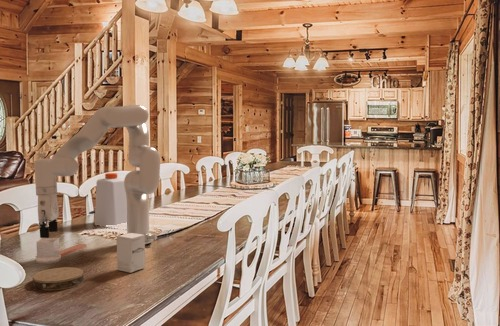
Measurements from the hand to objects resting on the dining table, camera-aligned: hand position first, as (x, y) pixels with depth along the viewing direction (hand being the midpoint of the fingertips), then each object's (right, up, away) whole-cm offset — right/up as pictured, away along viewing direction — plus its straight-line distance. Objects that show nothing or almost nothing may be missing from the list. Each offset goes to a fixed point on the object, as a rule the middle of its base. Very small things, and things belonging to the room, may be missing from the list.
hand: (49, 234), depth 190 cm
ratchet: (+2, -10, +9) cm, 13 cm away
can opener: (-9, -4, +99) cm, 100 cm away
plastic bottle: (+6, -6, +67) cm, 68 cm away
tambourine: (+13, -13, -24) cm, 31 cm away
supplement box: (+34, -11, -10) cm, 37 cm away
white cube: (0, -8, 0) cm, 8 cm away
